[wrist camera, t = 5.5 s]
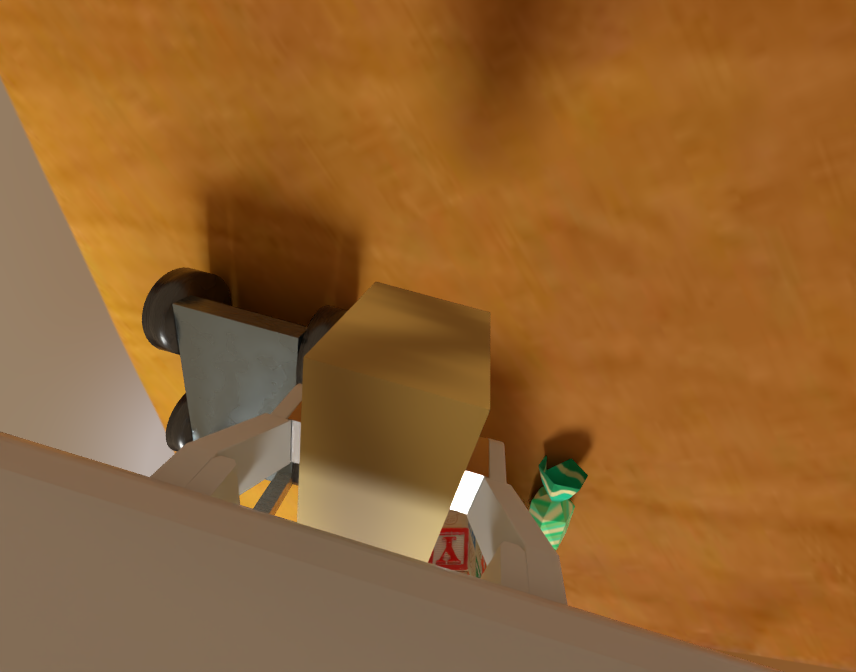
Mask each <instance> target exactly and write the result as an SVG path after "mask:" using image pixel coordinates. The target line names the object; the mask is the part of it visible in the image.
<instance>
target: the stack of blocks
mask: <svg viewBox="0 0 856 672" xmlns="http://www.w3.org/2000/svg"><path fill="white" fill-rule="evenodd" d="M428 563H431V564H434V565H437V566H441V567H444V568H447V569H451V570H454V571H457V572H460V573H464V574H467V575H470V576H473V577H477V578H481V576H482V574H483V573H484V571H485V569H486V568H487V564H486V562H485V559H484V557H483V555H482V552H481V550H480V547H479V545H478V542H477V540H476V538H475V535H474V533H473V530H472V528H471V525H470V523H469V521H468V518H467V514H464V513H461V512H458V511H455V510H452V509H449V512H448V514H447V517H446V519H445V522H444V524H443V527H442V529H441V531H440V534H439V536H438V539H437V541H436V544H435V546H434V549H433V551H432V553H431V556H430V558H429V561H428Z"/></svg>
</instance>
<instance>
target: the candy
mask: <svg viewBox="0 0 856 672" xmlns="http://www.w3.org/2000/svg"><path fill="white" fill-rule="evenodd" d="M546 464H547V455H546V456H545V458H544V459H543V460H542V461H541V463H540V464H539V470H540V475H541V479H542V483H543V485H544V487H541V488H540V489H539V491H538V492H537V494H536V495H535V496H534V498H533V499H532V501H531V505H530V509H529V512H530V514H531V515H532V517H533V518H534V520H535V521H536V523H537V524H538V526H539V527H540V529H541V530H542V532H543V533H544V535H545V536H546V538H547V539H548V541H549V542H550V544H551V545H552V547H553V548H554V550H555V551H556V550H557V548H558V546H559V545H560V543H561V541H562V539H563V537H564V535H565V533H566V531H567V528H568V525H569V522H570V519H571V516H572V513H573V510H574V507H575V506H574V504H573V503H572V502H571V500H570V499H569V498H571V497H572V496H573V495H574V494H575V493H576V492H578V491H579V490H580V489H581V487H582V485H583V483H584V482H585V480H586V478H587V476H588V475H587V474H586V473H585V472H584V471H583V470H582V469H581V468H580V467H579V466H578V464H577V463H576V462H575V461H574V460H573V459H572V458H571V459H569V460H567V461H565V462H563V463H561V464H559V465H556V466H554V467H552V468H550V469H548V470H546Z"/></svg>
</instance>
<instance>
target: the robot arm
mask: <svg viewBox="0 0 856 672" xmlns="http://www.w3.org/2000/svg"><path fill="white" fill-rule="evenodd" d="M301 409H302V384H300V383H299V384H297V385H295V387H294V388H293V389H292V390H291V391H290V392H289V393H288V395H287V396H286V397H285V398H284V399H283V400H282V401H281V402H280V404H279V405H278V406H277V407H276V408H275V409H274V410H273V412H272V413H271V414H268V413H265V414H262V415H259V416H257V417H254V418H252V419H249V420H246V421H244V422H241V423H239V424H236V425H233V426H231V427H228V428H225V429H223V430H220V431H218V432H215V433H212V434H210V435H207V436H205V437H202V438H199V439H197V440H194V441H192V442H189V443H186V444H185V445H184V446H183V447H182V448H181V449H180V450H179V451H178V452H177V453H175V454H174V455H173V456H172V457H171V458H170V459H169V460H168V461H167V462H166V463H165V464H163V465H162V466H161V467H160V468H159V469H158V470H157V471H156V472H155V473H154V474H153V475H152V476H150V477H147V476H143V475H140V474H137V473H134V472H131V471H127V470H124V469H121V468H118V467H114V466H111V465H108V464H104V463H101V462H98V461H95V460H92V459H88V458H85V457H82V456H78V455H75V454H72V453H68V452H65V451H62V450H59V449H56V448H52V447H49V446H46V445H42V444H39V443H36V442H33V441H30V440H26V439H23V438H19V437H16V436H13V435H10V434H7V433H3V432H0V672H784V671H781V670H777V669H774V668H770V667H767V666H764V665H761V664H757V663H754V662H751V661H748V660H744V659H741V658H738V657H735V656H731V655H728V654H725V653H721V652H718V651H715V650H712V649H708V648H705V647H702V646H699V645H695V644H692V643H689V642H685V641H682V640H679V639H676V638H672V637H669V636H666V635H663V634H659V633H656V632H653V631H650V630H646V629H643V628H640V627H637V626H633V625H630V624H627V623H624V622H620V621H617V620H614V619H610V618H607V617H604V616H601V615H597V614H594V613H591V612H588V611H584V610H581V609H578V608H575V607H571V606H568V605H567V600H566V595H565V589H564V583H563V577H562V572H561V566H560V560H559V556H558V554H557V553H556V551H555V550H554V548H553V547H552V545H551V544H550V542H549V541H548V539H547V538H546V536H545V535H544V533H543V532H542V530H541V529H540V527H539V526H538V524H537V523H536V521H535V520H534V518H533V517H532V515H531V514H530V512H529V511H528V509H527V508H526V506H525V505H524V503H523V502H522V500H521V499H520V498H519V496H518V495H517V493H516V492H515V490H514V489H513V487H512V486H511V485H510V484H507V482H506V464H505V446H504V443H503V442H501V441H497V440H494V439H490V438H486V437H482V436H479V438H478V441H477V443H476V446H475V448H474V451H473V453H472V455H471V458H470V460H469V463H468V465H467V468H466V470H465V473H464V475H463V478H462V480H461V482H460V485H459V487H458V490H457V492H456V495H455V497H454V500H453V502H452V504H451V507H450V509H452V510H455V511H458V512H461V513H464V514H467V518H468V521H469V523H470V525H471V528H472V530H473V533H474V535H475V538H476V540H477V542H478V545H479V547H480V550H481V552H482V555H483V557H484V559H485V562H486V564H487V568H486V569H485V571H484V573H483V574H482V576H481V578H477V577H473V576H470V575H467V574H464V573H460V572H457V571H454V570H451V569H447V568H444V567H441V566H437V565H434V564H431V563H428V562H424V561H421V560H418V559H414V558H411V557H408V556H405V555H401V554H398V553H395V552H391V551H388V550H385V549H382V548H378V547H375V546H372V545H369V544H365V543H362V542H359V541H356V540H352V539H349V538H346V537H343V536H339V535H336V534H333V533H330V532H326V531H323V530H320V529H317V528H313V527H310V526H307V525H304V524H300V523H297V522H294V521H291V520H287V519H284V518H281V517H277V516H274V515H271V514H268V513H264V512H261V511H258V510H255V509H251V508H248V507H245V506H242V505H240V499H239V495H241V494H242V493H244V492H245V491H247V490H249V489H250V488H252V487H253V486H255V485H256V484H258V483H260V482H261V481H263V480H264V479H266V478H267V477H269V476H271V475H272V474H274V473H275V472H277V471H278V470H280V469H282V468H283V467H285V466H286V465H288V464H290V462H294V463H298V464H299V462H300V435H301Z"/></svg>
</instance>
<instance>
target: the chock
mask: <svg viewBox="0 0 856 672" xmlns="http://www.w3.org/2000/svg"><path fill="white" fill-rule="evenodd" d="M489 411H490V312H487V311H483V310H479V309H476V308H472V307H468V306H464V305H461V304H457V303H453V302H450V301H446V300H442V299H438V298H435V297H431V296H427V295H424V294H420V293H416V292H413V291H409V290H405V289H401V288H398V287H394V286H390V285H387V284H383V283H379V282H375V283H374V284H373V285H372V286H371V287H370V288H369V289H368V290H367V291H366V292H365V293H364V294H363V296H362V297H361V298H360V299H359V300H358V301H357V302H356V303H355V304H354V305H353V306H352V307H351V308H350V309H349V310H348V311H347V312H346V313H345V314H344V315H343V316H342V317H341V318H340V319H339V321H338V322H337V323H336V324H335V325H334V326H333V327H332V328H331V329H330V330H329V331H328V332H327V333H326V334H325V335H324V336H323V337H322V338H321V339H320V340H319V341H318V342H317V343H316V344H315V346H314V347H313V348H312V349H311V350H310V351H309V352H308V353H307V354H306V355H305V356H304V357H303V382H302V409H301V435H300V462H299V488H298V514H297V523H300V524H304V525H307V526H310V527H313V528H317V529H320V530H323V531H326V532H330V533H333V534H336V535H339V536H343V537H346V538H349V539H352V540H356V541H359V542H362V543H365V544H369V545H372V546H375V547H378V548H382V549H385V550H388V551H391V552H395V553H398V554H401V555H405V556H408V557H411V558H414V559H418V560H421V561H424V562H428V561H429V558H430V556H431V553H432V551H433V549H434V546H435V544H436V541H437V539H438V536H439V534H440V531H441V529H442V527H443V524H444V522H445V519H446V517H447V514H448V512H449V509H450V507H451V504H452V502H453V500H454V497H455V495H456V492H457V490H458V487H459V485H460V482H461V480H462V478H463V475H464V473H465V470H466V468H467V465H468V463H469V460H470V458H471V455H472V453H473V451H474V448H475V446H476V443H477V441H478V438H479V436H480V433H481V431H482V429H483V426H484V424H485V421H486V419H487V416H488V414H489Z"/></svg>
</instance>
